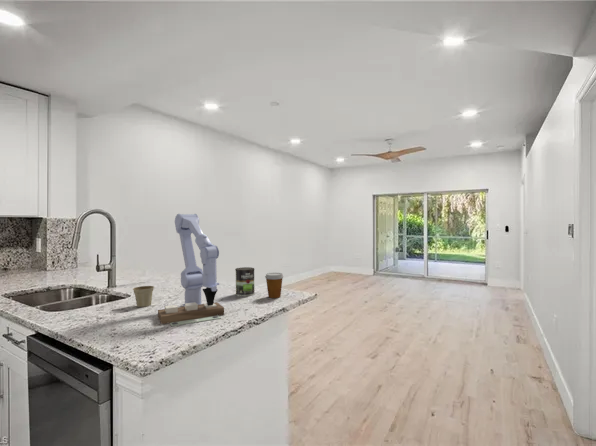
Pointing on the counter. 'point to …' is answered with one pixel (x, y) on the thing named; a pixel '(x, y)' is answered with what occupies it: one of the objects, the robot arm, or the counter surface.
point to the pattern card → (194, 320)
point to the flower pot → (143, 295)
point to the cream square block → (171, 309)
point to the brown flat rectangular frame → (190, 313)
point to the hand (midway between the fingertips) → (210, 305)
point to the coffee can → (245, 281)
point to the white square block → (210, 305)
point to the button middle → (191, 306)
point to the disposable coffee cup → (274, 284)
